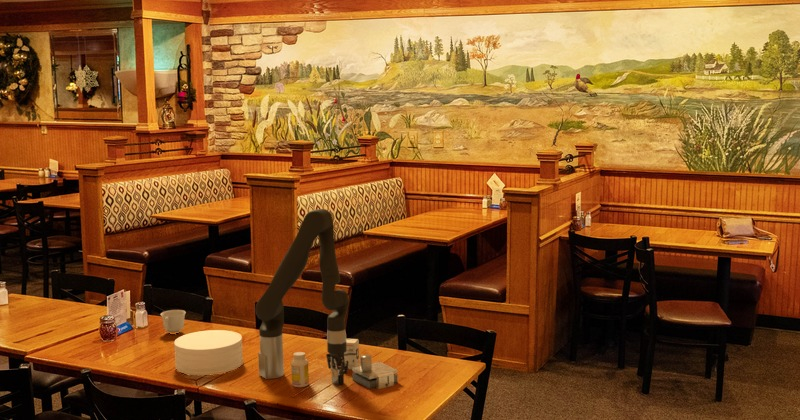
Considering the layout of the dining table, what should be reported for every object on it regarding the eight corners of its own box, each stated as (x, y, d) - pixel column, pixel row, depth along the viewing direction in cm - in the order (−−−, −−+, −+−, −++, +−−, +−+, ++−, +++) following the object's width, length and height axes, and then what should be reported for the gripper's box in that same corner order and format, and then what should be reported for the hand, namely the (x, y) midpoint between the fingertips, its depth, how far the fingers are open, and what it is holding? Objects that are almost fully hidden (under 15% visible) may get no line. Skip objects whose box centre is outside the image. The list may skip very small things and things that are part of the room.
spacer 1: (335, 385, 332) (335, 371, 331) (330, 382, 335) (329, 368, 334) (345, 383, 334) (345, 368, 333) (339, 380, 338) (339, 365, 337)
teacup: (154, 338, 400) (153, 317, 398) (168, 329, 414) (166, 309, 413) (178, 338, 398) (177, 318, 396) (191, 329, 412) (190, 310, 411)
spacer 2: (364, 373, 330) (363, 358, 329) (358, 370, 334) (358, 355, 333) (373, 371, 332) (373, 356, 332) (367, 368, 336) (367, 353, 335)
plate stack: (162, 366, 359) (161, 340, 357) (217, 351, 379) (216, 326, 377) (200, 381, 340) (199, 354, 338) (256, 364, 360) (255, 338, 358)
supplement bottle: (306, 381, 337) (305, 350, 336) (310, 386, 331) (309, 355, 329) (290, 383, 335) (289, 352, 333) (293, 388, 329) (292, 357, 327)
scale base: (372, 390, 325) (372, 378, 325) (352, 380, 338) (352, 368, 337) (400, 383, 332) (400, 371, 332) (379, 373, 345) (379, 361, 344)
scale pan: (369, 381, 327) (369, 376, 326) (352, 372, 337) (352, 367, 337) (397, 375, 334) (397, 370, 334) (379, 366, 345) (379, 361, 344)
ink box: (336, 368, 352) (335, 341, 351) (340, 364, 357) (340, 337, 355) (355, 370, 350) (355, 342, 348) (359, 366, 354) (359, 339, 353)
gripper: (319, 337, 336) (320, 379, 338) (337, 346, 324) (338, 389, 327) (336, 334, 340) (337, 375, 343) (354, 342, 328) (355, 385, 331)
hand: (337, 381), depth 335 cm, fingers closed on spacer 1, 4 cm apart
